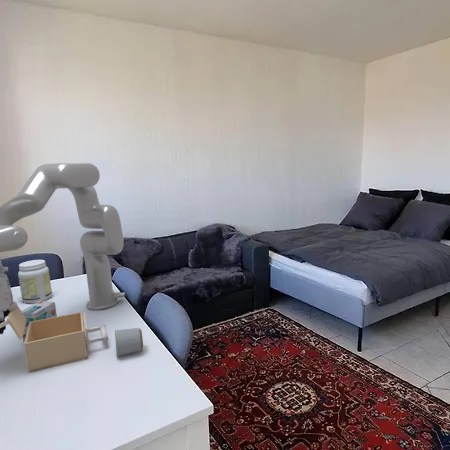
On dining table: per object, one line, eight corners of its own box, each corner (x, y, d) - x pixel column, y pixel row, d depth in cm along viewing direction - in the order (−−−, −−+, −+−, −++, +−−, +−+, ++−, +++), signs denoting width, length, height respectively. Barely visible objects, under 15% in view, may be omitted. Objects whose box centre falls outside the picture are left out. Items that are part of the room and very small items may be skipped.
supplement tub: (44, 292, 171) (39, 257, 168) (57, 296, 164) (52, 261, 160) (17, 300, 161) (11, 264, 158) (30, 306, 154) (24, 268, 151)
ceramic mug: (144, 354, 111) (142, 331, 110) (117, 360, 108) (114, 337, 107) (140, 339, 121) (138, 318, 119) (115, 345, 118) (112, 323, 117)
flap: (21, 338, 103) (-2, 350, 101) (26, 319, 116) (6, 330, 114) (8, 318, 101) (-16, 330, 99) (15, 301, 114) (-6, 312, 112)
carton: (105, 331, 127) (102, 307, 126) (110, 352, 113) (107, 325, 111) (33, 347, 119) (29, 321, 117) (28, 372, 104) (23, 343, 102)
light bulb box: (39, 343, 121) (34, 313, 119) (22, 342, 123) (17, 312, 121) (59, 328, 131) (55, 300, 129) (43, 327, 133) (39, 300, 131)
